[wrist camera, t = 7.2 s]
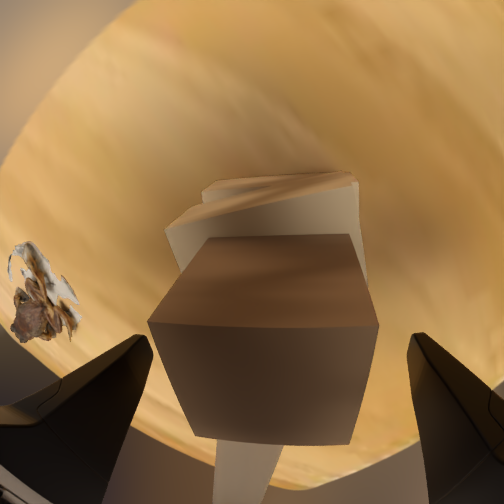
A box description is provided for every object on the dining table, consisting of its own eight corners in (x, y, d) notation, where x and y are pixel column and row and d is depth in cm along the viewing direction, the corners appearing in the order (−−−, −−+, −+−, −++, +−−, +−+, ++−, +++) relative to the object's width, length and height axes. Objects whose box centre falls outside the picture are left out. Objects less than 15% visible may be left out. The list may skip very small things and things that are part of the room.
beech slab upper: (341, 170, 12) (352, 185, 9) (363, 306, 14) (372, 345, 12) (190, 206, 14) (163, 229, 11) (235, 326, 16) (222, 364, 14)
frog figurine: (70, 361, 27) (53, 383, 24) (3, 282, 24) (-19, 299, 21) (112, 323, 23) (89, 352, 19) (25, 219, 20) (-6, 236, 16)
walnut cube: (348, 233, 10) (379, 325, 5) (341, 343, 12) (348, 444, 8) (208, 237, 11) (146, 321, 6) (227, 342, 13) (195, 436, 8)
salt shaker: (214, 402, 24) (170, 532, 12) (278, 400, 22) (251, 547, 11) (235, 434, 26) (205, 546, 14) (291, 433, 24) (274, 555, 13)
